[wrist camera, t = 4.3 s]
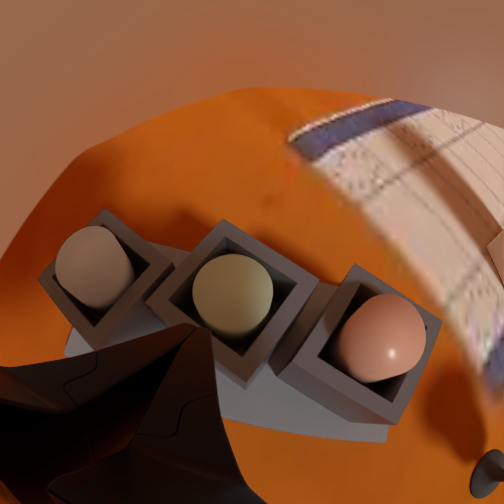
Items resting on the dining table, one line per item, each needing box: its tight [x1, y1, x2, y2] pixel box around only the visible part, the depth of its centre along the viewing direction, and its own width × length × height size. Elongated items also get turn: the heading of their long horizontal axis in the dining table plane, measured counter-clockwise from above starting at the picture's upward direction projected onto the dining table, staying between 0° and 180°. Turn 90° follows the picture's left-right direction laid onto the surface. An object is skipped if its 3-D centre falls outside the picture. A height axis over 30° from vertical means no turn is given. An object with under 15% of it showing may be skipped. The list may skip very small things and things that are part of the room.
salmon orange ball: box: [328, 294, 426, 385], centre depth 13 cm, size 4×4×4 cm
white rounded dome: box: [55, 226, 140, 318], centre depth 15 cm, size 4×4×4 cm
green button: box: [193, 254, 273, 347], centre depth 15 cm, size 4×4×4 cm
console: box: [38, 208, 442, 443], centre depth 17 cm, size 11×24×8 cm, turn 76°
